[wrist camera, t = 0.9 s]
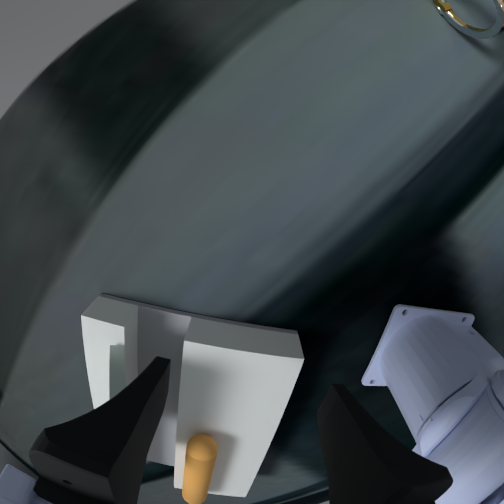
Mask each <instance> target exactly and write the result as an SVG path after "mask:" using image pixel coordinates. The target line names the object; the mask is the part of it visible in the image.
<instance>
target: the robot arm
mask: <svg viewBox="0 0 504 504" xmlns="http://www.w3.org/2000/svg"><path fill="white" fill-rule="evenodd" d="M404 310H406V311H405V312H404V313H402V312H403V311H404ZM474 319H475V317H474V315H473V314H470V313H462V312H454V311H446V310H438V309H431V308H424V307H416V306H409V305H402V304H398V305H396V306H395V307H394V309H393V311H392V313H391V316H390V318H389V321H388V323H387V326H386V328H385V330H384V333H383V335H382V337H381V339H380V342H379V344H378V346H377V348H376V351H375V353H374V355H373V357H372V359H371V361H370V363H369V365H368V367H367V370H366V372H365V374H364V376H363V378H362V380H361V381H362V384H363V385H365V386H388V387H389V389H390V391H391V393H392V395H393V397H394V399H395V401H396V403H397V405H398V407H399V409H400V411H401V413H402V415H403V417H404V419H405V421H406V423H407V425H408V427H409V429H410V431H411V433H412V435H413V437H414V439H415V441H416V443H417V444H416V446H415V448H414V449H413V450H411V449H409V448H408V447H406V446H405V445H403V444H402V443H400V442H399V441H398V440H396V439H395V438H394V437H393V436H391V435H390V434H389V433H388V432H387V431H386V430H384V429H383V428H382V427H381V426H380V425H379V424H378V423H377V422H376V421H375V420H374V419H373V418H372V417H371V416H370V414H369V413H368V412H367V411H366V410H365V409H364V408H363V407H362V406H361V404H360V403H359V402H358V401H357V400H356V399H355V397H354V396H353V395H352V394H351V393H350V391H349V390H348V389H347V388H346V387H345V386H344V385H343V384H331V385H330V387H329V389H328V392H327V394H326V396H325V398H324V400H323V402H322V404H321V406H320V408H319V409H318V411H317V425H318V434H319V438H320V443H321V447H322V452H323V456H324V460H325V465H326V469H327V475H328V485H329V502H330V504H504V358H503V357H502V356H501V355H500V354H499V353H498V352H497V351H496V350H495V349H494V348H493V347H492V346H491V345H490V344H489V343H488V342H487V341H486V340H485V339H484V338H483V337H482V336H481V335H480V334H479V333H478V332H477V331H476V330H475V329H474V328H473V327H472V324H473V321H474ZM170 365H171V359H168V358H164V357H159V356H157V357H155V358H154V359H153V360H152V362H151V363H150V364H149V365H148V366H147V367H146V368H145V369H144V370H143V371H142V372H141V374H139V375H138V376H137V377H136V378H135V379H134V380H133V381H132V382H131V383H130V384H129V385H128V386H126V387H125V388H124V389H123V390H122V391H120V392H119V393H118V394H117V395H115V396H114V397H113V398H111V399H110V400H108V401H107V402H105V403H104V404H102V405H101V406H99V407H97V408H95V409H94V410H92V411H90V412H88V413H86V414H84V415H82V416H80V417H77V418H75V419H73V420H70V421H68V422H65V423H62V424H59V425H56V426H52V427H49V428H45V429H44V430H43V431H42V432H41V434H40V435H39V436H38V437H37V439H36V440H35V442H34V444H33V446H32V447H31V449H30V451H29V458H30V460H31V462H32V464H33V465H34V467H35V469H36V470H37V472H38V474H39V475H40V476H39V479H38V481H35V480H34V479H33V478H32V477H30V476H29V475H27V474H25V473H24V472H22V471H20V470H18V469H16V468H15V467H13V466H11V465H10V464H7V465H6V466H5V468H4V470H3V472H2V473H1V475H0V504H137V500H138V495H139V490H140V485H141V480H142V476H143V471H144V467H145V463H146V459H147V455H148V452H149V448H150V446H151V443H152V440H153V438H154V435H155V432H156V430H157V427H158V425H159V422H160V419H161V417H162V414H163V411H164V408H165V404H166V400H167V395H168V391H169V377H170ZM371 380H373V381H371Z"/></svg>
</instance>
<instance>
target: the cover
mask: <svg viewBox="0 0 504 504" xmlns="http://www.w3.org/2000/svg"><path fill="white" fill-rule="evenodd" d="M125 387H126V372H125V350H124V346H120V345H110V359H109V400H110V399H111V398H113V397H114V396H115V395H117V394H118V393H119V392H120V391H122V390H123V389H124V388H125Z"/></svg>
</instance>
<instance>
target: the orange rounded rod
mask: <svg viewBox="0 0 504 504" xmlns="http://www.w3.org/2000/svg"><path fill="white" fill-rule="evenodd" d="M217 453H218V446H217V443H216V441H215V440H214V439H213V438H212V437H210V436H208V435H205V434H198V435H195V436H193V437H191V438H190V439H189V441H188V442H187V446H186V455H185V466H184V477H183V489H182V495H183V498H184V500H185V501H186V502H188V503H190V504H201V503H203V502H204V501H205V500H206V498H207V494H208V490H209V486H210V482H211V478H212V473H213V469H214V465H215V461H216V457H217Z"/></svg>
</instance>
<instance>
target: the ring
mask: <svg viewBox="0 0 504 504" xmlns="http://www.w3.org/2000/svg"><path fill="white" fill-rule="evenodd" d="M493 1H494V3H495V5H496V8H497V13H498V15H497V20H496V22H495V24H494V25H493V26H492V27H490V28H487V29H479V28H475V27H472V26H470V25H468V24H466V23H464V22H463V21H461V20H460V19H459V18H458V17H457V16H456V15H455V14H454V13H453V12H452V8H451V6H450V5H449V3H447V2H445V1H444V0H433V2H434V3H435V5H436V6H435V8H436V10H437V12H438V13H439V14H440V15H443V16H444V17H445V19H446V20H447V21H448V22H449V23H450V24H451V25H453V26H454V27H455V28H456V29H458V30H459V31H461V32H462V33H464V34H466V35H468V36H471V37H474V38H479V39H487V38H491V37H494V36H496V35H499V34H501V33H502V32H503V31H504V0H493Z"/></svg>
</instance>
